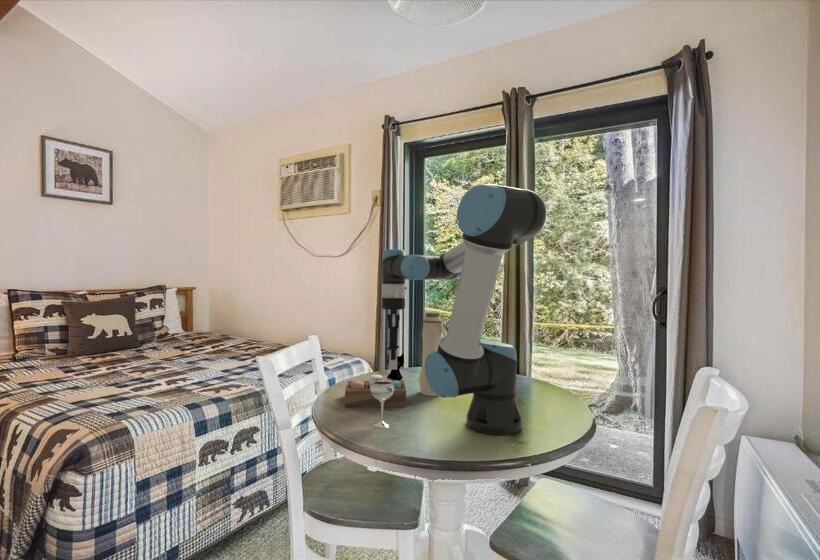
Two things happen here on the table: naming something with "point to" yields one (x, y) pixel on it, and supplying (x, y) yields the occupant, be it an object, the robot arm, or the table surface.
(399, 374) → the cat figurine
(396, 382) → the teal button
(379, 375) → the ivory button
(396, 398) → the console
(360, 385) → the terracotta button
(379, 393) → the wineglass
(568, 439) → the table surface
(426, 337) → the water bottle
